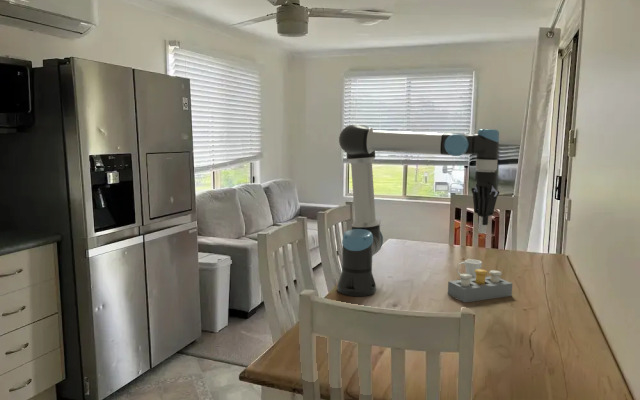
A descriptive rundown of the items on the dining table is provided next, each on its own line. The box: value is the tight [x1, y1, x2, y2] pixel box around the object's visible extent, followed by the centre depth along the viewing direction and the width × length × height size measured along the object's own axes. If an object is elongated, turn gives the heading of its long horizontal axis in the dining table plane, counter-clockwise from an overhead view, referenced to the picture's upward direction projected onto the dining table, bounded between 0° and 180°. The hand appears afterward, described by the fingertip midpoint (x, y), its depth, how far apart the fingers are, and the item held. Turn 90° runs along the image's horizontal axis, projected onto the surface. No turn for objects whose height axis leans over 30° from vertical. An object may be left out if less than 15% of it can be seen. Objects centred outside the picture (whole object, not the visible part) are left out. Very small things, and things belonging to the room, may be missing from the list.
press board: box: [447, 275, 513, 303], centre depth 179 cm, size 22×10×5 cm, turn 110°
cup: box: [456, 258, 483, 279], centre depth 199 cm, size 7×10×8 cm
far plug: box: [488, 269, 503, 283], centre depth 182 cm, size 4×4×7 cm
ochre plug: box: [475, 268, 488, 285], centre depth 179 cm, size 4×4×7 cm
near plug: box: [459, 273, 472, 287], centre depth 177 cm, size 4×4×7 cm
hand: (482, 232), depth 177 cm, fingers closed
